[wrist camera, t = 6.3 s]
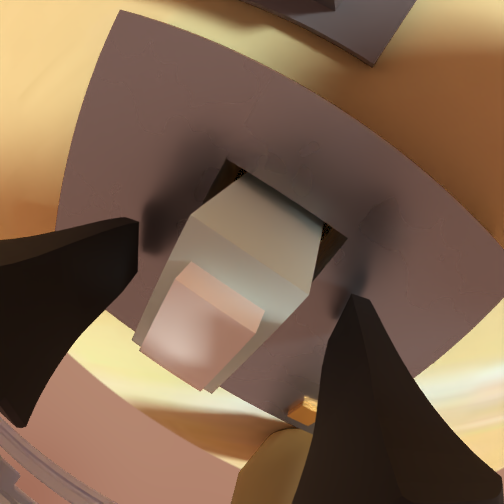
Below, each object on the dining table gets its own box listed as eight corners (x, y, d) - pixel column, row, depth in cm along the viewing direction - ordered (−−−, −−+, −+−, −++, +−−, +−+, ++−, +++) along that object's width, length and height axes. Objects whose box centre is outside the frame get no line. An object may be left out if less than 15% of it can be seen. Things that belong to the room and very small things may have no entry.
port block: (494, 238, 10) (528, 278, 7) (327, 394, 16) (319, 442, 13) (165, 22, 10) (114, 8, 7) (88, 240, 16) (47, 267, 13)
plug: (326, 207, 12) (303, 317, 6) (260, 292, 14) (202, 412, 8) (261, 162, 12) (172, 228, 6) (205, 255, 14) (118, 356, 8)
